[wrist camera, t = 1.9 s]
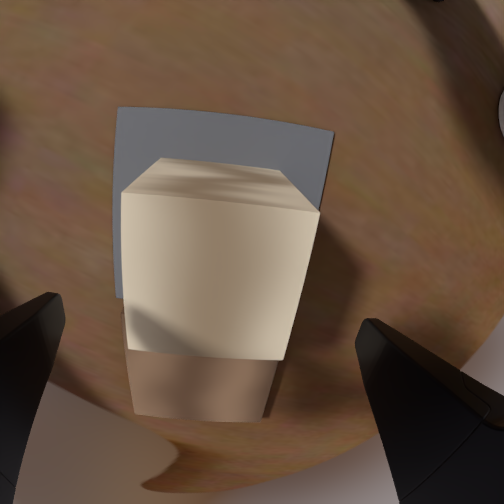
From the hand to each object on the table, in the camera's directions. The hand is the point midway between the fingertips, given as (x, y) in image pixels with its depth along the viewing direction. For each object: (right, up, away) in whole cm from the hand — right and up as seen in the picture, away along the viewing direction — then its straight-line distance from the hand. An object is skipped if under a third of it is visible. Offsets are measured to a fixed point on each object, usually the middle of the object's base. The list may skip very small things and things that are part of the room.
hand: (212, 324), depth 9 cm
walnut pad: (-3, -6, +13) cm, 14 cm away
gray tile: (-1, +4, +8) cm, 9 cm away
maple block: (-1, +4, +8) cm, 9 cm away
